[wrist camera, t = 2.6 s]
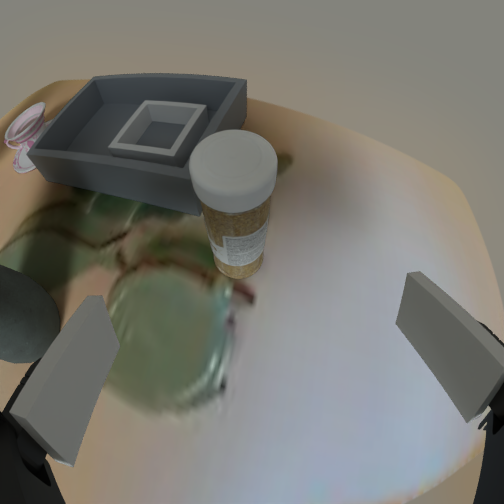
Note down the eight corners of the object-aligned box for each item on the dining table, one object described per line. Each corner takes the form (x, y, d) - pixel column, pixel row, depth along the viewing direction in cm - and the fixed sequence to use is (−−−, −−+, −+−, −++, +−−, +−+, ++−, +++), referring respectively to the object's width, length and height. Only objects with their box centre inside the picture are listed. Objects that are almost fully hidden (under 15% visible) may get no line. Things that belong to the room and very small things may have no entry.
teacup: (65, 111, 36) (52, 86, 30) (73, 143, 32) (56, 114, 27) (15, 148, 33) (-1, 126, 28) (14, 187, 30) (-7, 164, 24)
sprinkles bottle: (211, 238, 26) (185, 133, 14) (258, 231, 27) (267, 121, 14) (218, 284, 25) (190, 199, 12) (268, 276, 25) (289, 185, 13)
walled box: (47, 180, 29) (25, 154, 24) (105, 104, 36) (94, 76, 30) (199, 216, 27) (189, 179, 22) (246, 116, 33) (246, 79, 28)
